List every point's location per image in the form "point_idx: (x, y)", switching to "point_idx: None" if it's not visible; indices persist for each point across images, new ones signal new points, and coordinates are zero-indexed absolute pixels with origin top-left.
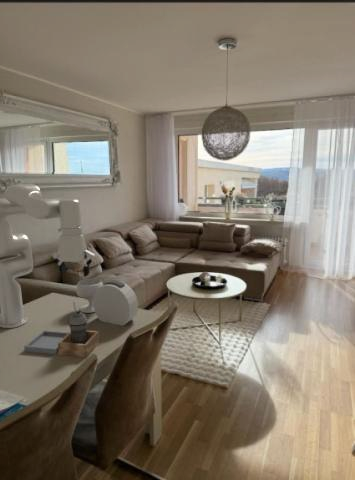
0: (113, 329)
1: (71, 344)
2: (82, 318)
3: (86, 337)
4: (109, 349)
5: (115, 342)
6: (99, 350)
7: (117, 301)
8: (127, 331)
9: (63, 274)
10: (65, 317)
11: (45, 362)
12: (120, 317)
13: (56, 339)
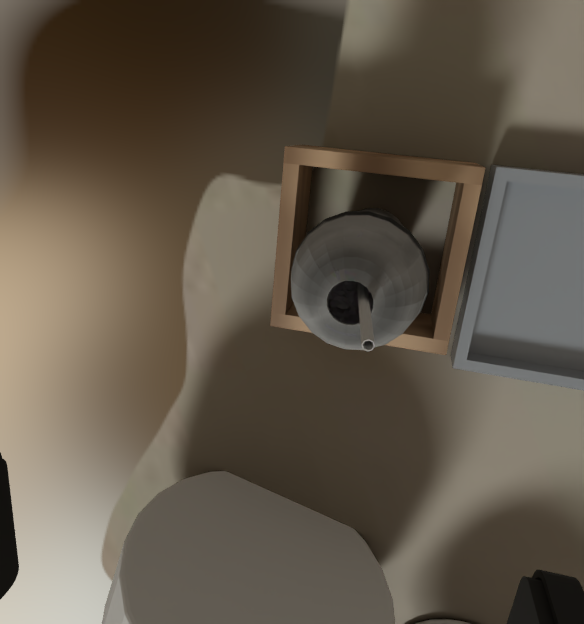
0: (258, 435)
1: (384, 156)
2: (301, 261)
3: None
4: (212, 233)
5: (205, 303)
6: (259, 221)
7: (200, 583)
8: (183, 411)
9: (515, 614)
10: None
11: (530, 68)
12: (221, 503)
13: (545, 320)
